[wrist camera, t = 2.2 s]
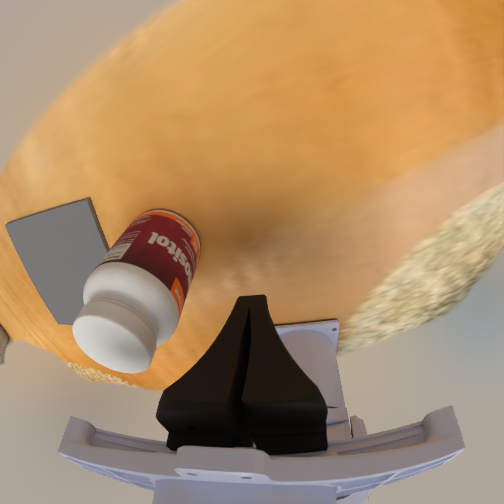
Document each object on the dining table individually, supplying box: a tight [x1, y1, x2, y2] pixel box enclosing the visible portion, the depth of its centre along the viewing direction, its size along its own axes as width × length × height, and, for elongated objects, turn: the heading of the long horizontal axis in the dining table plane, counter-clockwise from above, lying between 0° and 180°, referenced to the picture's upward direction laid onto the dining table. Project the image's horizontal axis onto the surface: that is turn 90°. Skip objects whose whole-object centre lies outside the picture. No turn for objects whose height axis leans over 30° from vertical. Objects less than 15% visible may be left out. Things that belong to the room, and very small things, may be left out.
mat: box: [5, 198, 110, 325], centre depth 24 cm, size 14×13×1 cm
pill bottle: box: [73, 210, 200, 373], centre depth 17 cm, size 6×6×11 cm
